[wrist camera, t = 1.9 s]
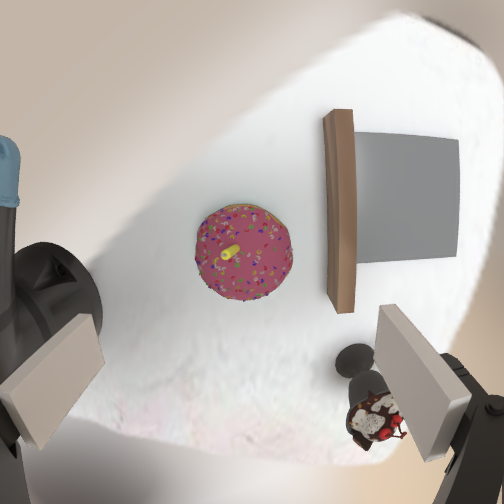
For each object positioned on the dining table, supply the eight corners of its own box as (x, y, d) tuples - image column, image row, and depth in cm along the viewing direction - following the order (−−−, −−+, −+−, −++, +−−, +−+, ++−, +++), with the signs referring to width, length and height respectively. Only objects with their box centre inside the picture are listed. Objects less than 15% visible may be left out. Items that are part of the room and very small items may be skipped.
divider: (327, 293, 33) (337, 313, 28) (322, 118, 29) (334, 109, 24) (341, 292, 33) (353, 312, 28) (338, 118, 29) (352, 109, 24)
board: (349, 260, 32) (351, 263, 31) (346, 133, 29) (349, 132, 28) (451, 254, 32) (456, 256, 31) (453, 140, 28) (458, 140, 27)
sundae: (375, 328, 34) (427, 412, 20) (384, 370, 36) (429, 455, 21) (321, 349, 35) (349, 445, 20) (335, 389, 36) (362, 482, 22)
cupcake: (188, 223, 32) (148, 254, 20) (264, 183, 31) (266, 191, 19) (229, 295, 34) (213, 358, 22) (302, 260, 32) (324, 310, 21)
